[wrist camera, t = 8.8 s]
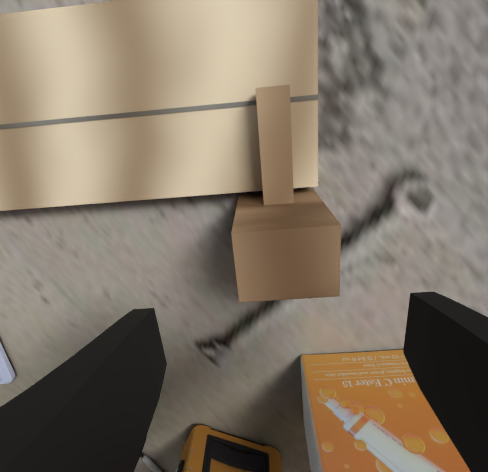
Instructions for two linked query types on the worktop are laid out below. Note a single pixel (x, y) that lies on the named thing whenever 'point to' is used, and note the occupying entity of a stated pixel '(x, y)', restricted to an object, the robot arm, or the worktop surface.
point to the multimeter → (221, 454)
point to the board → (150, 98)
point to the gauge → (283, 220)
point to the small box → (371, 416)
